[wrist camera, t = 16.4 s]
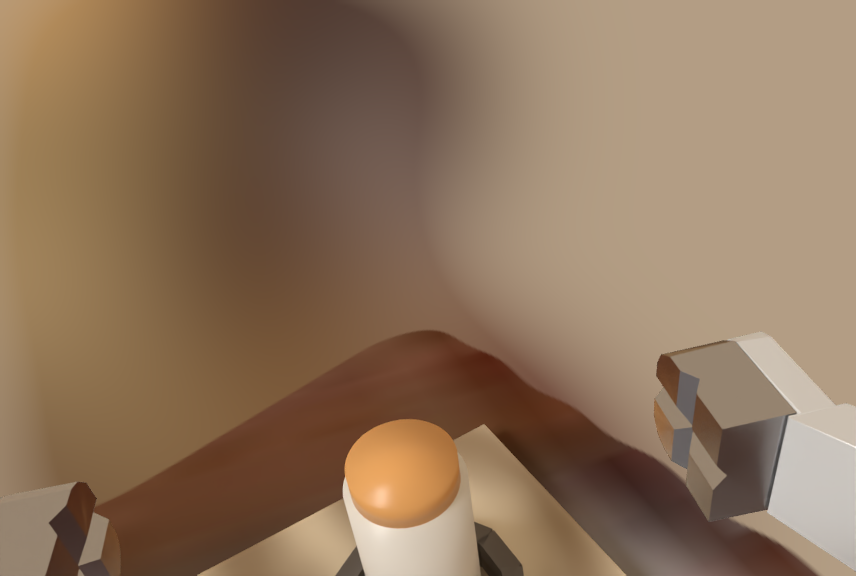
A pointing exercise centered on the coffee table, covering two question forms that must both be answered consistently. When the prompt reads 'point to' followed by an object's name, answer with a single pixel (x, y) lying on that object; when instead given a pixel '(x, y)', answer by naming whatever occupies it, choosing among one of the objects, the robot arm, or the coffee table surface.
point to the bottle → (410, 502)
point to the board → (490, 509)
